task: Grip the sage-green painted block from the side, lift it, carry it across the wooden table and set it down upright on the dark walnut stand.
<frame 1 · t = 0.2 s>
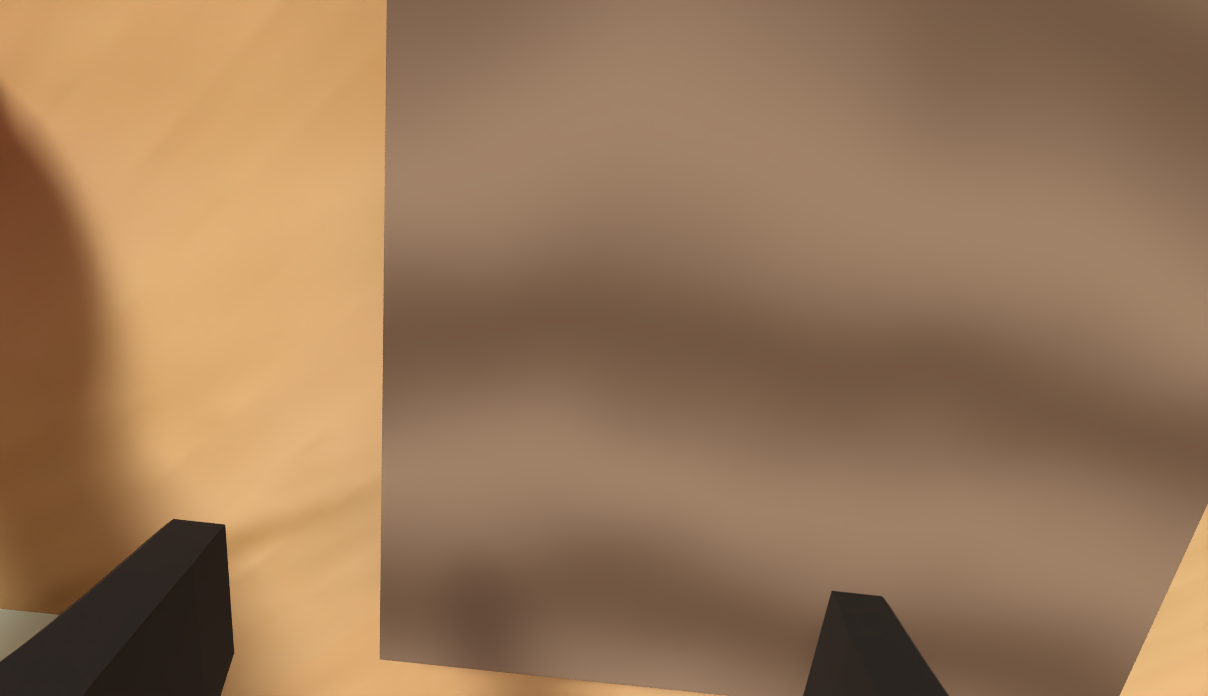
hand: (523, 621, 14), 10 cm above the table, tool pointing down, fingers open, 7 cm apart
sage block: (76, 681, 29), on the table
walnut stand: (801, 337, 23), on the table
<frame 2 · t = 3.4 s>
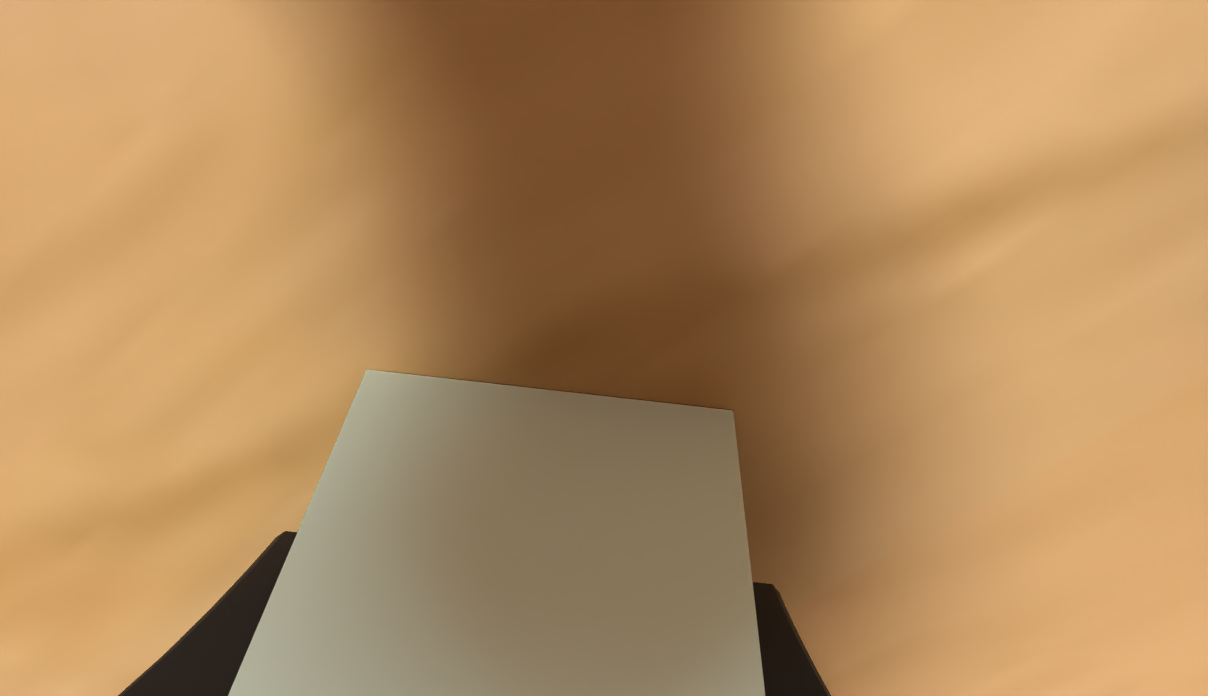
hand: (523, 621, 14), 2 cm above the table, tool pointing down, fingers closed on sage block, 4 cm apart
sage block: (536, 534, 15), on the table, touching gripper
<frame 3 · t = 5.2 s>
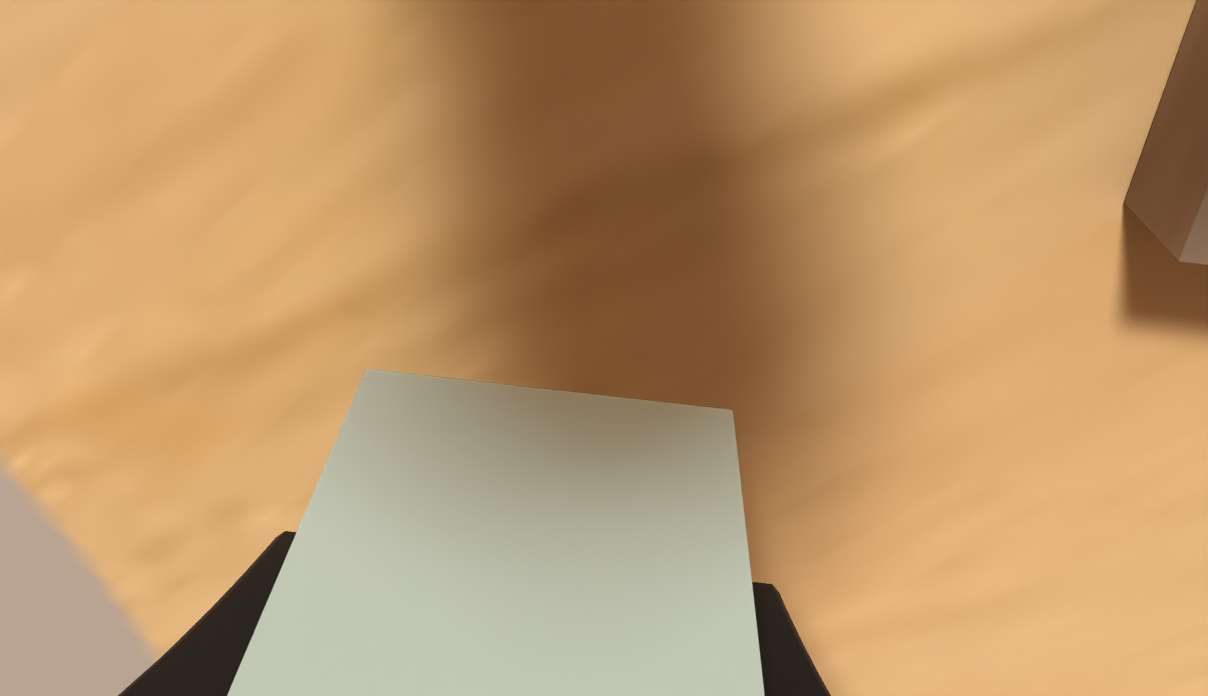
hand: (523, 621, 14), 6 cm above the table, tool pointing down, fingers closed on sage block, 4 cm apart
sage block: (535, 533, 15), point 4 cm above the table, touching gripper
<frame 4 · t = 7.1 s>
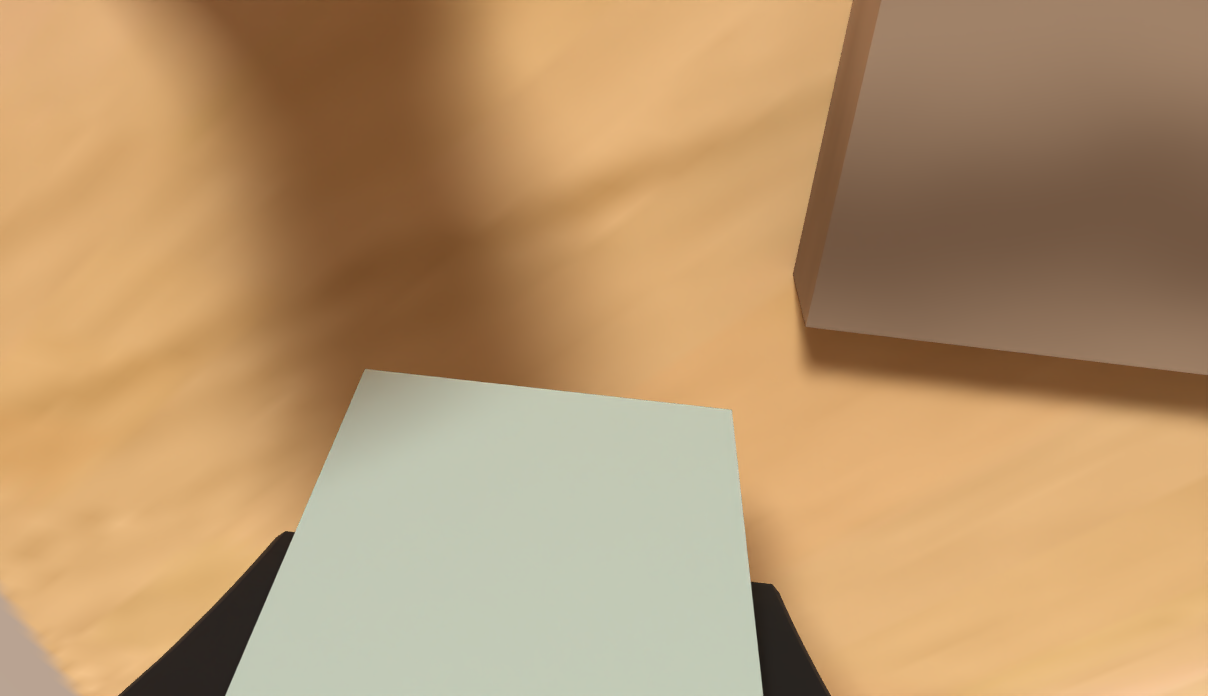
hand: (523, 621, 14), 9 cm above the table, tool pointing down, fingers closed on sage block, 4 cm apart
sage block: (534, 533, 15), point 7 cm above the table, touching gripper
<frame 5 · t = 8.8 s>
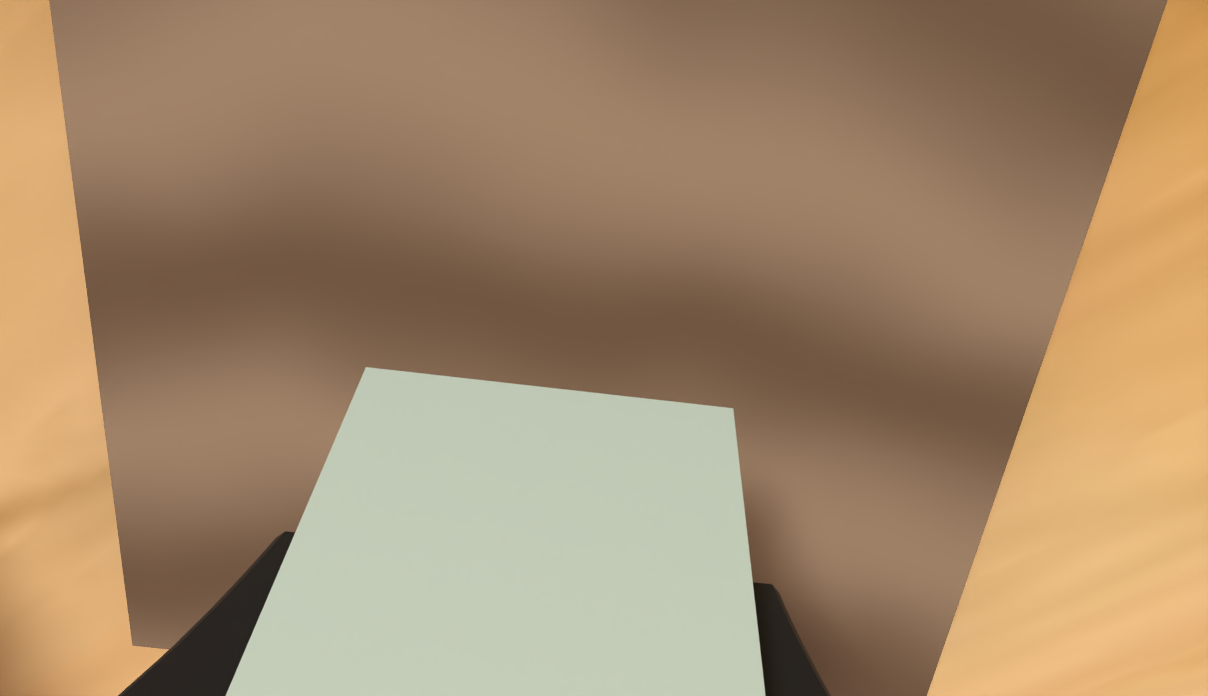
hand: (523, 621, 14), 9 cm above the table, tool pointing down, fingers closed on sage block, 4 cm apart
sage block: (535, 532, 15), point 7 cm above the table, touching gripper
walnut stand: (569, 294, 21), on the table
when the fingers open (5 cm above the table, at t = 10.6 s): sage block stays where it is, resting on walnut stand.
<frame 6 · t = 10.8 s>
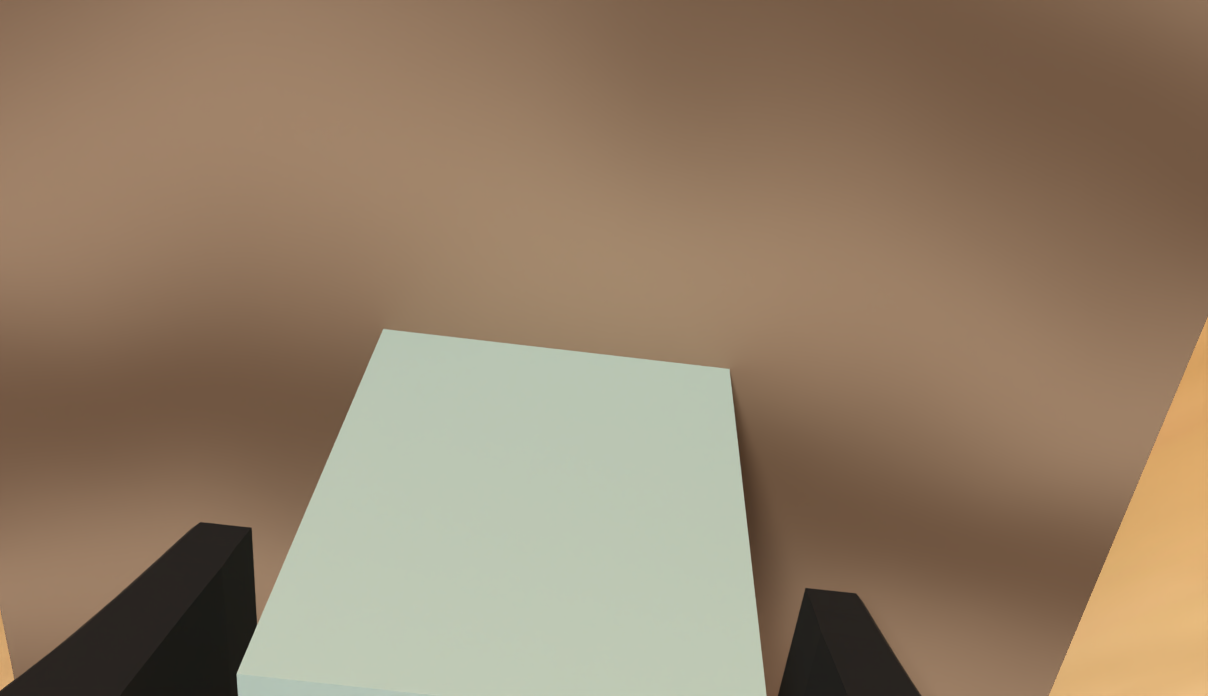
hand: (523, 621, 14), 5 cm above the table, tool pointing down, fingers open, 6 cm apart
sage block: (542, 488, 16), point 2 cm above the table, touching walnut stand
walnut stand: (553, 412, 18), on the table
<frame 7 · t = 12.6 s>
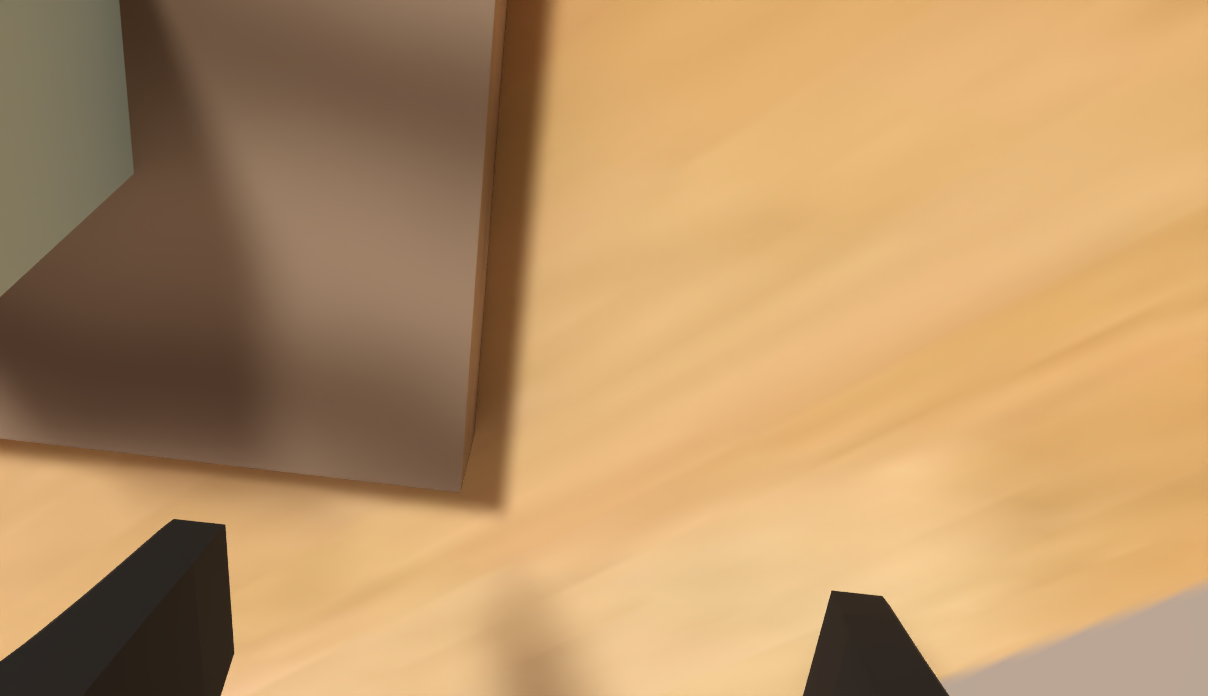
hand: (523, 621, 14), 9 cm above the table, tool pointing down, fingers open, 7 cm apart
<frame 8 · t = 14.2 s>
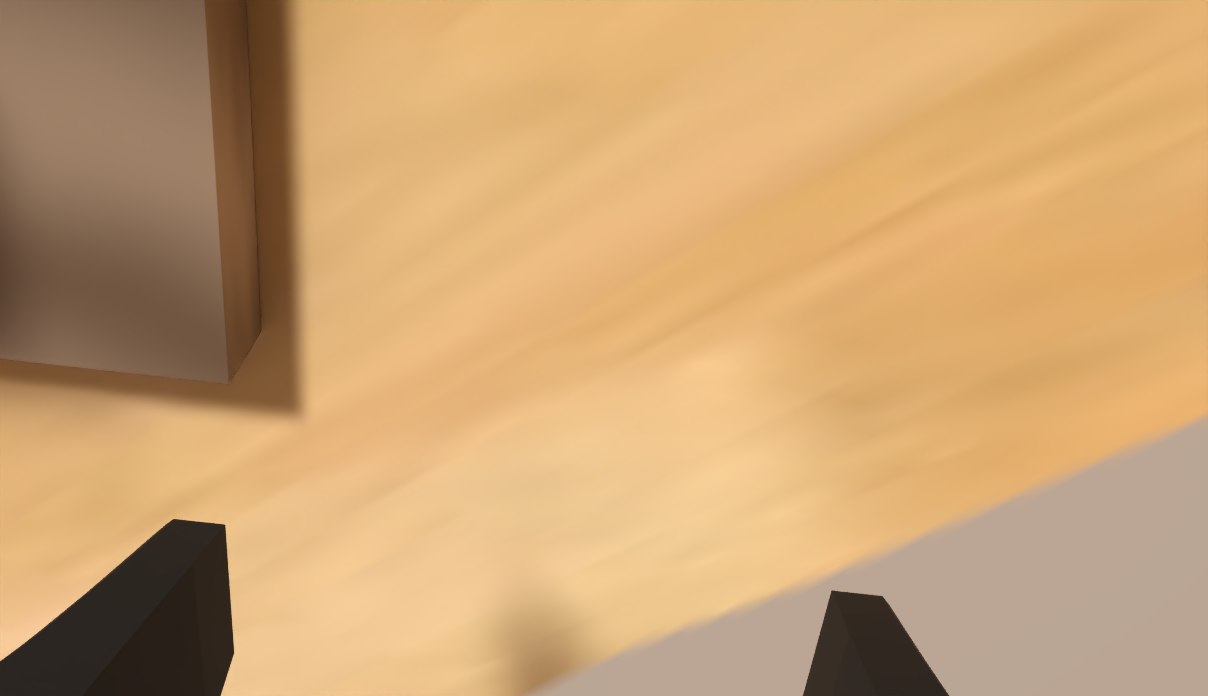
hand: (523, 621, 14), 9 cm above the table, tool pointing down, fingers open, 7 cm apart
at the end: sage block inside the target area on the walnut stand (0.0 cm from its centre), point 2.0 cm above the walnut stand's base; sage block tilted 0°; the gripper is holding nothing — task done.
